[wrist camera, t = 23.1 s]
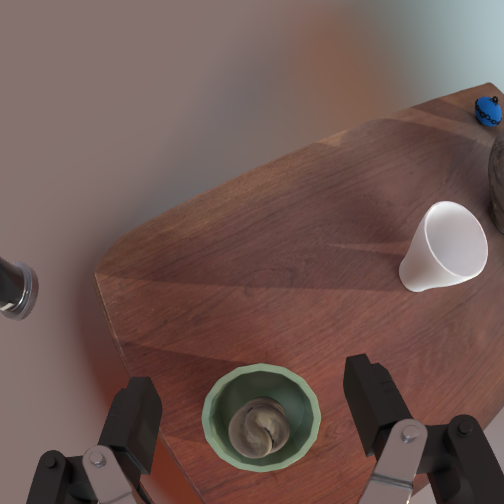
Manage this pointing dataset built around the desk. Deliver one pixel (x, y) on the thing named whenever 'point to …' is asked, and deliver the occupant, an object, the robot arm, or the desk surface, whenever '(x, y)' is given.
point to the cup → (444, 249)
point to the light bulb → (259, 427)
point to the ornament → (488, 111)
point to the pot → (254, 385)
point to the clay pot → (497, 181)
